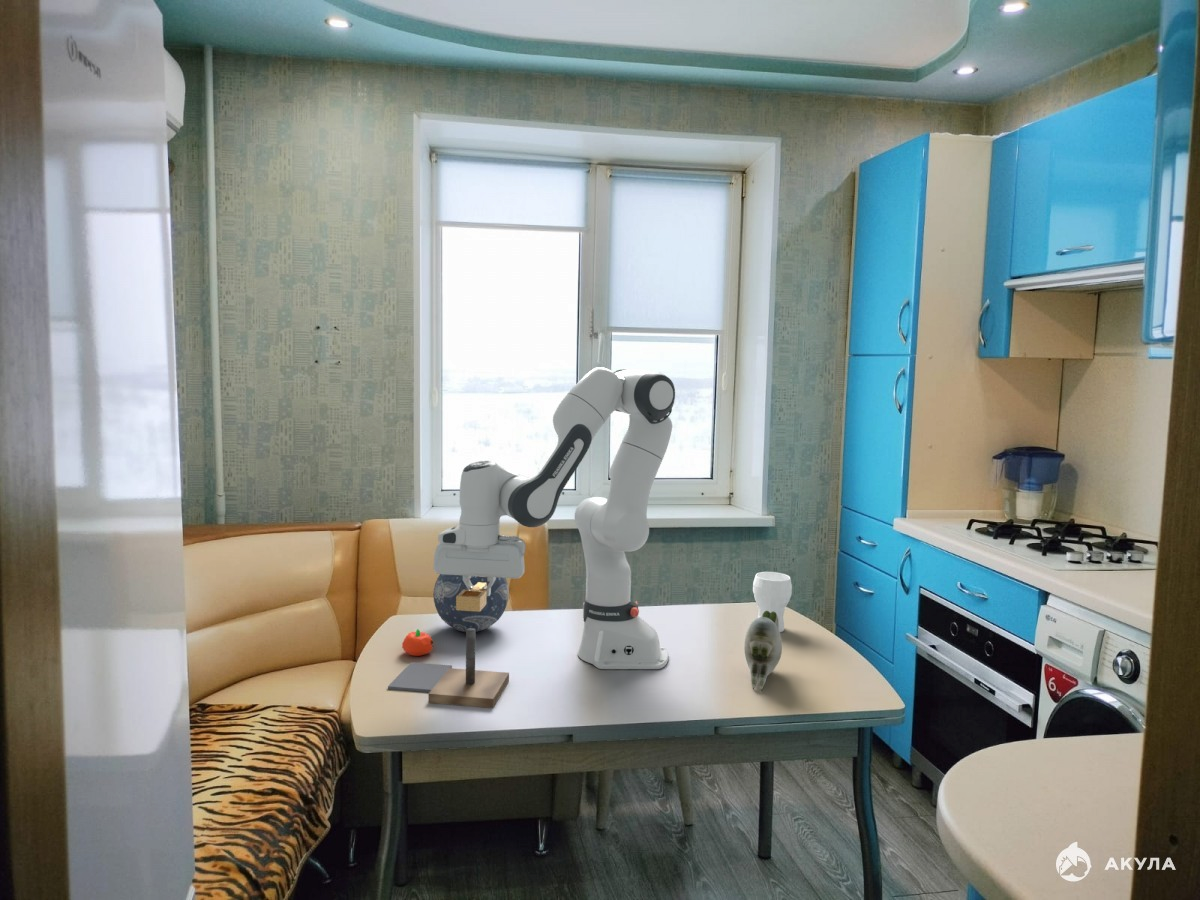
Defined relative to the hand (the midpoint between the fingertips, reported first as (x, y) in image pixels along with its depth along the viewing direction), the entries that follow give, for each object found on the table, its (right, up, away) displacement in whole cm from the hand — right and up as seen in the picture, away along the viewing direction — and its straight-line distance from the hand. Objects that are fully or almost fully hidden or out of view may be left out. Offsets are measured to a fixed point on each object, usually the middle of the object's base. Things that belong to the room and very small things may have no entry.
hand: (479, 594), depth 173 cm
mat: (-14, -19, +3) cm, 24 cm away
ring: (0, -1, -3) cm, 3 cm away
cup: (+75, -18, +43) cm, 88 cm away
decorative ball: (-8, -16, +35) cm, 39 cm away
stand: (-1, -21, -4) cm, 21 cm away
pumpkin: (-18, -18, +17) cm, 31 cm away
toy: (+66, -21, +10) cm, 70 cm away
